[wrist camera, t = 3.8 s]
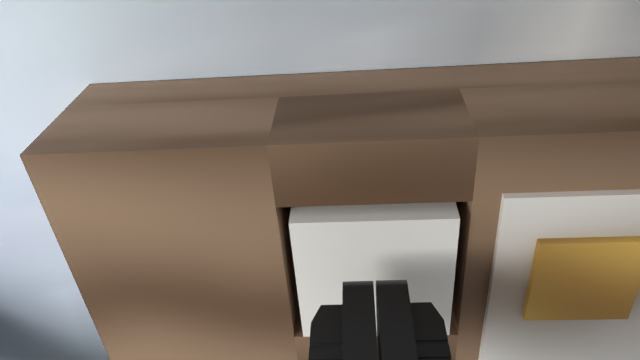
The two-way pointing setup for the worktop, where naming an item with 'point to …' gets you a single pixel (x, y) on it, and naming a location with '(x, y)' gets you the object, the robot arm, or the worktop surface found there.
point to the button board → (351, 201)
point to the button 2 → (374, 252)
